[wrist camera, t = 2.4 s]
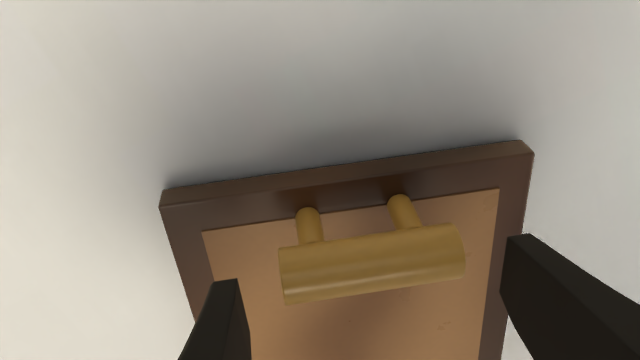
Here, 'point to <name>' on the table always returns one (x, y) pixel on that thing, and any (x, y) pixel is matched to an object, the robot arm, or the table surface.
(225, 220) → the picture frame
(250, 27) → the table surface
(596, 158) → the table surface
